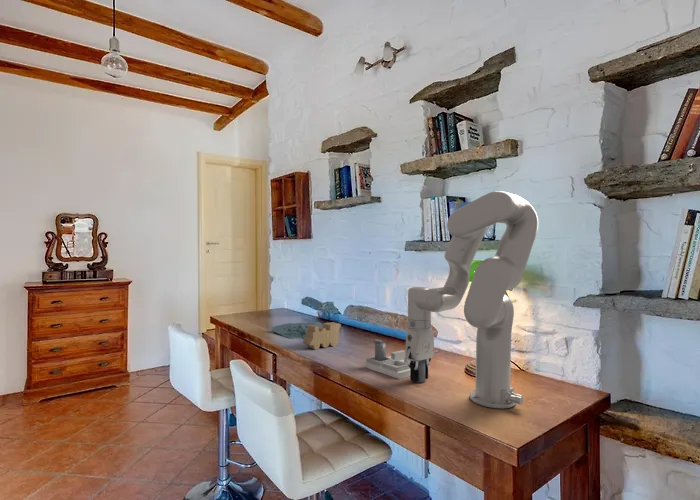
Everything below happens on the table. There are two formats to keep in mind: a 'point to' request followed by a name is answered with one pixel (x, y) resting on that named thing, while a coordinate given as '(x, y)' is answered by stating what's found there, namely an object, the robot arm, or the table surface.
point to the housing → (388, 362)
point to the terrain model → (294, 329)
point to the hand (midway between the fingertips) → (419, 378)
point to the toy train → (322, 335)
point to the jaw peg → (421, 370)
